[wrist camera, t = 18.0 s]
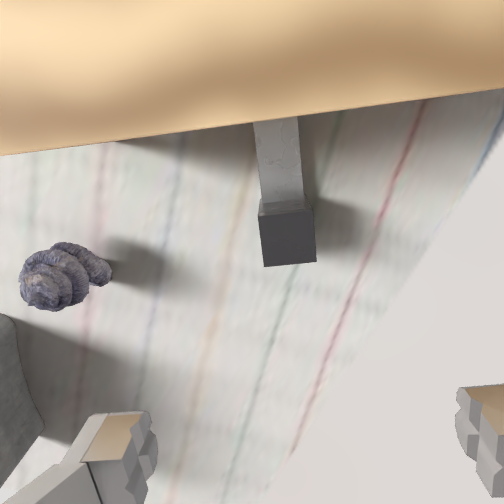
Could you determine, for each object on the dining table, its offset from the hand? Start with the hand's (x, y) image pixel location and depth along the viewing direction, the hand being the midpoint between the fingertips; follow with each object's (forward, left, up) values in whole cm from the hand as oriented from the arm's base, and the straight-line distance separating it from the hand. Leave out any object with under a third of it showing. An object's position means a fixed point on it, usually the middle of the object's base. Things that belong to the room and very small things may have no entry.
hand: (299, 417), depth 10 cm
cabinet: (-11, 0, -25) cm, 27 cm away
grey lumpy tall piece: (+2, -18, -25) cm, 31 cm away
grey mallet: (-6, +1, -25) cm, 26 cm away
